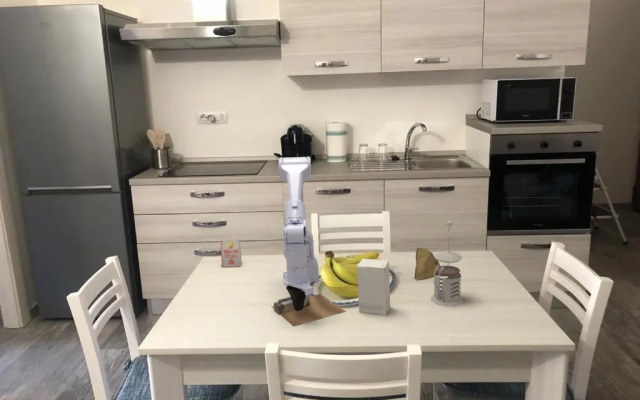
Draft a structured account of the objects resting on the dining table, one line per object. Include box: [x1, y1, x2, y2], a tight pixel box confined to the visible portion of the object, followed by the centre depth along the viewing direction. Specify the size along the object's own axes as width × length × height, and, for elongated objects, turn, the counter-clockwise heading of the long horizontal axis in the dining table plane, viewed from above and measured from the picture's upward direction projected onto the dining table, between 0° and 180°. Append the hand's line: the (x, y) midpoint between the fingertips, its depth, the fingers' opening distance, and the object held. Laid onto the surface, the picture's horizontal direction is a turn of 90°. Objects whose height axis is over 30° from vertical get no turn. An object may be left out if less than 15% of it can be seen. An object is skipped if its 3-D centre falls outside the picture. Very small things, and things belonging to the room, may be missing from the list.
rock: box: [414, 247, 441, 281], centre depth 177 cm, size 11×9×10 cm
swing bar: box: [281, 295, 311, 313], centre depth 154 cm, size 9×2×3 cm, turn 123°
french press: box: [430, 220, 464, 307], centre depth 155 cm, size 10×12×25 cm
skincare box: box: [356, 258, 391, 316], centre depth 150 cm, size 8×7×16 cm
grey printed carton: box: [220, 239, 243, 269], centre depth 192 cm, size 4×7×10 cm, turn 91°
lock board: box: [271, 293, 347, 327], centre depth 153 cm, size 17×15×4 cm
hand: (298, 309), depth 149 cm, fingers closed
